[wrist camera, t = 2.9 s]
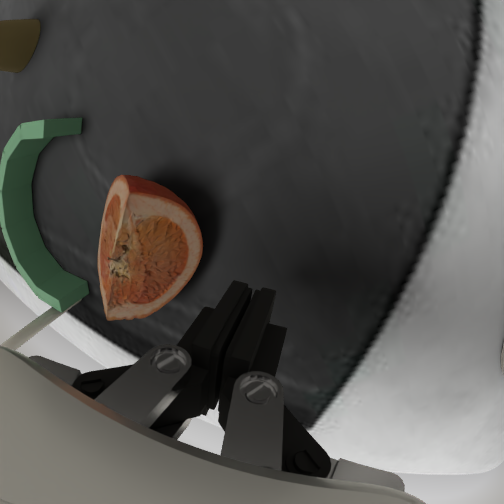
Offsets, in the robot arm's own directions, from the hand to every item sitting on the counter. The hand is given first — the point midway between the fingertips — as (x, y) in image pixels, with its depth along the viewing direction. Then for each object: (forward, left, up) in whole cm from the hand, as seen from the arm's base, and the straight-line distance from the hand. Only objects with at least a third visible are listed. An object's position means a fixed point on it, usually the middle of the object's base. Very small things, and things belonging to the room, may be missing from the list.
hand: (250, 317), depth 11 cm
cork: (+27, -16, -5) cm, 32 cm away
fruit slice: (+7, 0, -6) cm, 9 cm away
